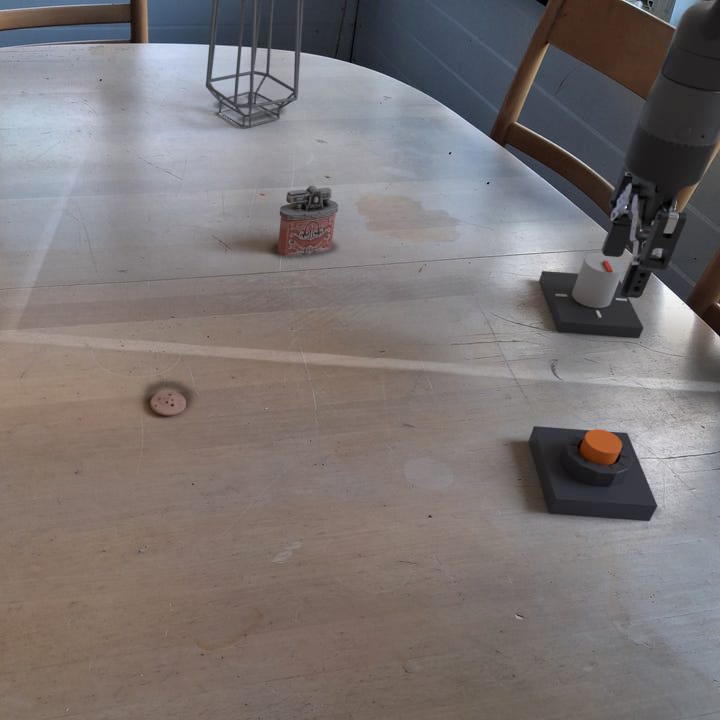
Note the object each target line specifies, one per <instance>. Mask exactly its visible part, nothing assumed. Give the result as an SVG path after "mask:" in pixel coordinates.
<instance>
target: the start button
mask: <svg viewBox="0 0 720 720" xmlns="http://www.w3.org/2000/svg"><path fill="white" fill-rule="evenodd" d="M589 430H590V431H588V432H587V433H586V434H585V437H584V439H583V442H582V444H581V446H580V453H581V455H582V456H583V457H584V458H586V459H587V460H589V461H591V462H593V463H596V464H598V465H611V464H613V463H614V462H615V461H616V459H617V457H618V454H619V452H620V450H621V448H622V443H621V441H620V439H619V438H618V437H617V436H616V435H614V434H613V433H611V432H612V431H608V430H605V429H600V428H599V429H596V428H594V429H589Z"/></svg>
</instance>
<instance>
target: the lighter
mask: <svg viewBox="0 0 720 720" xmlns="http://www.w3.org/2000/svg"><path fill="white" fill-rule="evenodd" d="M332 191H333V190H332V189H331V187H321V188H317V186H315V185H310V186H308V187H307V189H296V190H289V191H288V192H286V200H285V201H286V203H287V204H284V205H281V206H280V208H279V216H280V221H279V230H278V231H279V232H278V242H277V253H278V254H280V255H281V256H285V257H286V256H287V257H290V256H303V255H311V254H316V253H321V252H324V251H328V250H331V248H332V245H333V244H332V242H333V236H334V228H335V221H336V216H337V215H336V214H337V213H338V211H339V204H338V202H336V201H334V200H331V198H332V193H333V192H332Z"/></svg>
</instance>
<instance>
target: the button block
mask: <svg viewBox="0 0 720 720" xmlns="http://www.w3.org/2000/svg"><path fill="white" fill-rule="evenodd" d="M590 430H591V429H577V428H567V427H566V428H564V427H550V426H536V425H534V426H533V427H532V430H531V434H530V436H529V438H528V445H529V450H530V452H531V456H532V459H533V462H534V466H535V469H536V473H537V477H538V480H539V484H540V487H541V491H542V494H543V497H544V501H545V504H546V508H547V511H548V514H549V515H556V516H558V515H559V516H560V515H561V516H572V517H584V518H585V517H587V518H598V519H599V518H601V519H613V520H628V521H640V522H641V521H642V522H650V521H651V519H652V517H653V515H654V514H655V512H656V510H657V508H658V504H657V500H656V498H655V496H654V494H653V491H652V489H651V486H650V484H649V481H648V480H647V476H646V474H645V472H644V469H643V467H642V465H641V463H640V460H639V458H638V455H637V453H636V450H635V448H634V446H633V443H632V441H631V438H630V436H629V434H628V433H629V432H619V431H610V432H611V433H613V434H614V435H616V436H617V437H618V438H619V439H620V441H621V443H622V448H621V450H620V452H619V454H618V457H617V459H616V461H615V462H614V463H613V464H611V465H598V464H596V463H593V462H591V461H589V460H587V459H586V458H584V457H583V456H582V455H581V453H580V446H581V444H582V442H583V439H584V437H585V434H586V433H587V432H588V431H590Z"/></svg>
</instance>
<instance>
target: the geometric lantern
mask: <svg viewBox="0 0 720 720" xmlns="http://www.w3.org/2000/svg"><path fill="white" fill-rule="evenodd" d="M262 4H263V0H258V3H257V0H252V15H251V16H252V18H251V19H252V20H251V47H250V48H251V49H250V50H251V51H250V70H249V71H243V72H240V71H241V61H242V60H241V59H242V47H243V36H244V24H245V23H244V22H245V11H246V0H241V10H240V22H239V33H238V46H237V58H236V69H235V73H234V74H228V75H225V76H219V77H213V78H212V76H213V67H214V61H215V60H214V59H215V52H216V51H215V49H216V41H217V32H218V25H219V15H220V5H221V0H212V8H211V17H210V18H211V19H210V30H209V45H208V55H207V66H206V79H205V88H206V89H207V90H208V91H209V92H210V93H211V95H213V97H214V98H215V99H216V100H217V101H218V104H219V106H218V108H219V109H218V111H219V113H221V114H222V112H221V110H222V109H223V106H224V107H227V108H230V109H231V110H232V111H234V112H235V113H236V114H238V115H240V116H242V123H240V122H238V121H236V120H234V119H232V118H231V117H229V116H227V115H225V114H223V116H225V117H227V118H228V119H230V120H232V121H233V122H235V123H236V124H235V123H234V124H235V125H237V124H238V125H237V126H239V127H241V128H242V127H245V128H253V127H255V126H260V125H263V124H267V123H270V122H271V123H272V122H275V121H277V120H280V119H281V109H283V108H285V107H286V106H288V105H290V104H291V103H293V102H294V101H297V100H298V97H299V83H300V65H301V47H302V46H301V45H302V31H303V14H304V11H303V10H304V0H295V29H294V30H295V34H294V64H293V65H294V69H293V70H294V72H293V87H292V86H291V85H288V84H287V83H285V82H284V81H281V80H280V79H278V78H277V77H275V76H274V75H272V74H271V73H270V69H271V67H270V66H271V65H270V64H271V51H272V49H271V48H272V32H273V31H272V30H273V28H272V27H273V15H274V0H269V15H268V16H269V17H268V34H267V36H268V37H267V52H266V54H267V55H266V67H265V68H266V70H265V72H262V71H258V70H255V68H256V67H255V66H256V58H257V49H258V40H259V32H260V23H261V22H260V21H261V14H262ZM255 75H257V76H261V77H263V78H262V79H261V81H260V82H259V84H258V86H257V88H256V90H255V91H254V87H255V86H254V83H255V81H254V80H255ZM245 76H249V90H248V91H245V92H241V93H239V82H240V77H245ZM234 78H235V80H234V92H233V93H234V94H233V95H230V96H226V95H224V94H223V93H221V92H220V91H218V90H217V89H216V88H215V86H213V84H212V83H214V82H219V81H224V80H229V79H234ZM266 78H269V79H270V80H272V81H274V82H275V83H277V84H279V85H280V86H282V87H284V88H286V89H287V90H289V91H291V92H292V93H291V94H290V95H288V96H287V97H286V98H282V99H275V100H272V99H270V98H268V97H267V96H265V95H262V94H260V93H259V91H260V89H261V87H262V85H263V83H264V82H265V80H266ZM245 95H247V97H248V98H247V102H246V103H238V98H239V97H242V96H245ZM257 97H260V98H261V99H263V100H265V101H264V102H258V103H257ZM232 99H233V100H232ZM229 104H230V105H229ZM271 105H276V107H274V108H270V109H268V108H266V106H271ZM233 107H235V109H234V108H233ZM241 108H242V109H248V114H245V113H244V112H243V111H242V110H241ZM254 108H255V109H256V108H260V109H262V111H257V112H254V113H252V109H254ZM275 111H277V112H275ZM219 113H218V114H219ZM266 113H270V114H271V115H274V116H275V117H273V118H270V119H265V120H263V121H259V122H255V123H252V119H253V116H258V115H262V114H266ZM246 118H248V124H246ZM228 119H227V120H228ZM230 120H229V121H230ZM233 122H232V123H233Z"/></svg>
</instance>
